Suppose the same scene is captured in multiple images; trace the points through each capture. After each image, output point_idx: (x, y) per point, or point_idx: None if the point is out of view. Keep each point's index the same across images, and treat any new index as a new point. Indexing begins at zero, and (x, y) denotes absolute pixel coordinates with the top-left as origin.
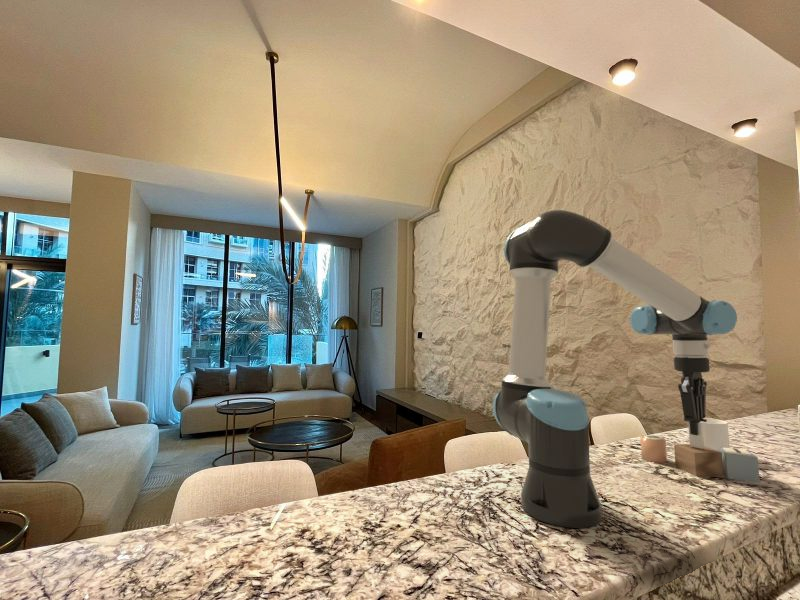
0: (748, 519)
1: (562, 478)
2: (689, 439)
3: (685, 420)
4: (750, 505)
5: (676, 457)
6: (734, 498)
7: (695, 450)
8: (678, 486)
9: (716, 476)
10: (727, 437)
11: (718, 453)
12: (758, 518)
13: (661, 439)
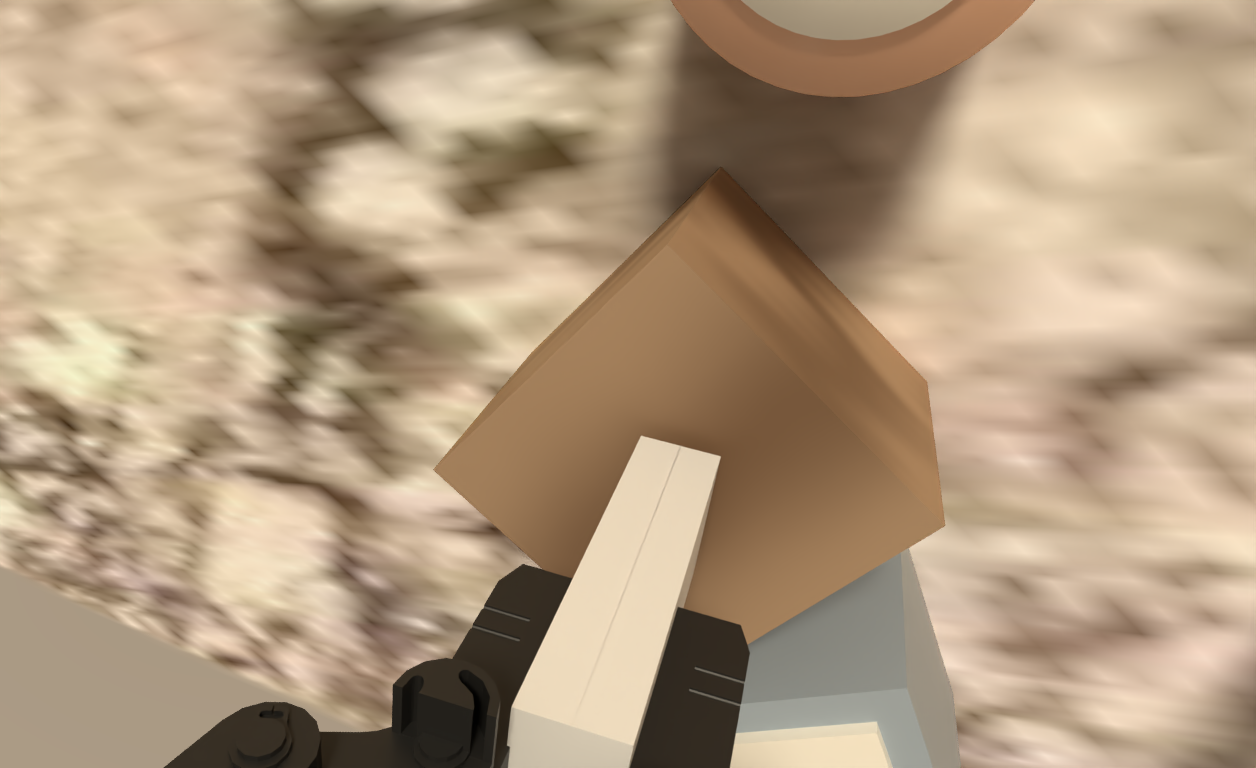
0: (31, 568)
1: None
2: (617, 488)
3: (425, 681)
4: (227, 600)
5: (679, 216)
6: (264, 546)
7: (540, 479)
8: (168, 257)
9: None
10: None
11: None
12: (85, 604)
13: (811, 35)
